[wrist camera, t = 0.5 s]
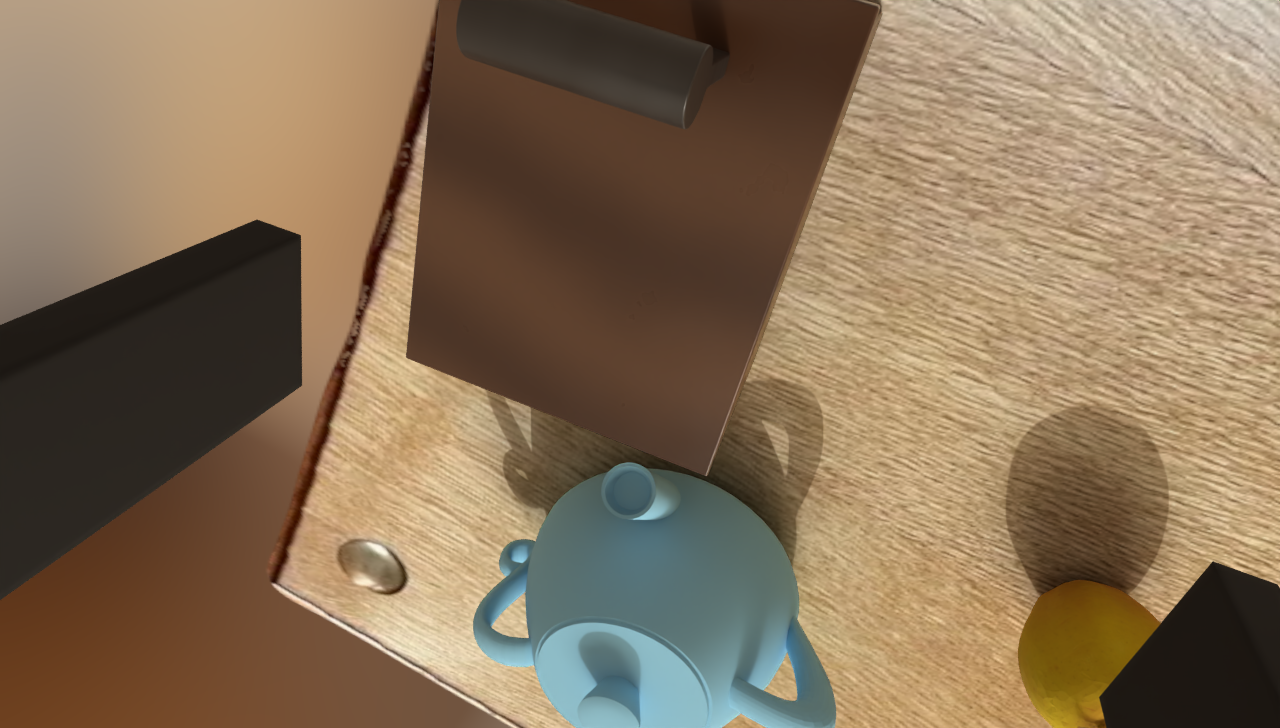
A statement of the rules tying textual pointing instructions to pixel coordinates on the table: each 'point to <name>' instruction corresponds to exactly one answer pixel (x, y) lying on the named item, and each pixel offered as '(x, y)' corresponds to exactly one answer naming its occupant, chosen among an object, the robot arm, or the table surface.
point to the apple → (1079, 649)
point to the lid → (621, 200)
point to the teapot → (657, 608)
